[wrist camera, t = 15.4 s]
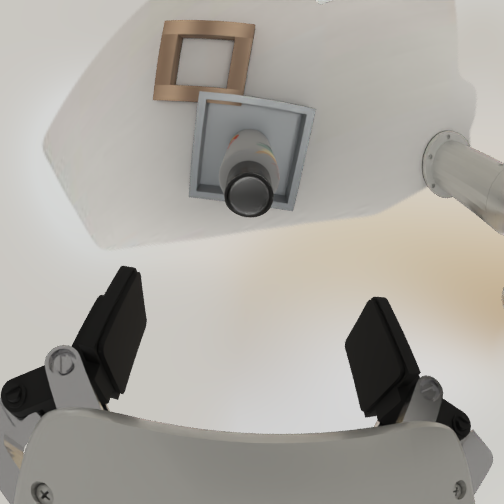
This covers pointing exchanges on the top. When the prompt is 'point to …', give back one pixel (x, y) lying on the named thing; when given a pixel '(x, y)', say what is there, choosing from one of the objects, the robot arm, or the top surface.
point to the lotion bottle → (249, 174)
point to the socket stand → (209, 30)
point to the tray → (240, 118)
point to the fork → (323, 1)
